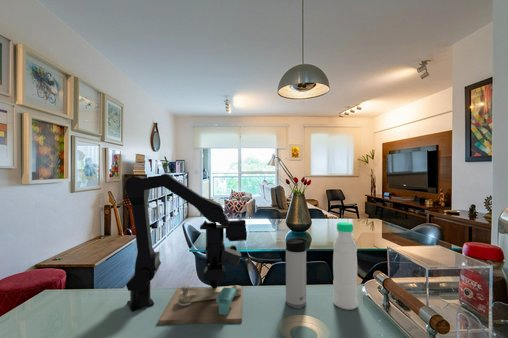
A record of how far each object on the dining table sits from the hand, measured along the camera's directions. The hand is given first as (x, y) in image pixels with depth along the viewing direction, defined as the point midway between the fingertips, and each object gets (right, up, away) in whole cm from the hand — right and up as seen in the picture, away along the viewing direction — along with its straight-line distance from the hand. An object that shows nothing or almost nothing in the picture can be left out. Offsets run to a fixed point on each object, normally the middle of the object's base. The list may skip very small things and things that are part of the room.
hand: (214, 289), depth 82 cm
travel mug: (+26, -3, -4) cm, 26 cm away
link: (-1, -1, -3) cm, 3 cm away
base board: (-2, -3, -4) cm, 5 cm away
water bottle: (+41, -3, -4) cm, 41 cm away
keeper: (-2, -2, -7) cm, 7 cm away
